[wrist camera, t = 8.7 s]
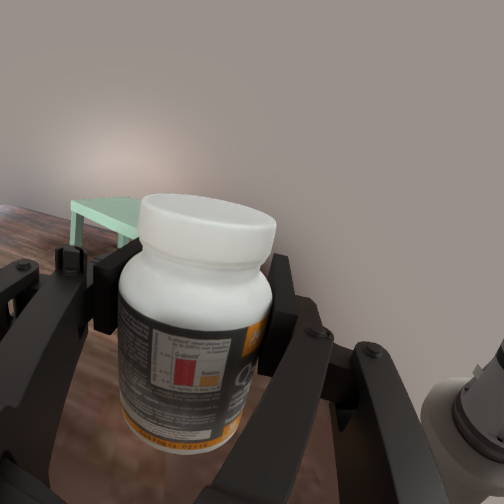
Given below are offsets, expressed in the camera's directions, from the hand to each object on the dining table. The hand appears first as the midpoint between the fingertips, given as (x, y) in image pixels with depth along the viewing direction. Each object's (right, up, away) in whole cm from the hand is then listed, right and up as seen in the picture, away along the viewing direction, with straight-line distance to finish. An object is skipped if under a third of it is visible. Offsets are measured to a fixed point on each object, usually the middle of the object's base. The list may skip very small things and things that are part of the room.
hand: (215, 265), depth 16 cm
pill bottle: (-2, -7, -3) cm, 8 cm away
